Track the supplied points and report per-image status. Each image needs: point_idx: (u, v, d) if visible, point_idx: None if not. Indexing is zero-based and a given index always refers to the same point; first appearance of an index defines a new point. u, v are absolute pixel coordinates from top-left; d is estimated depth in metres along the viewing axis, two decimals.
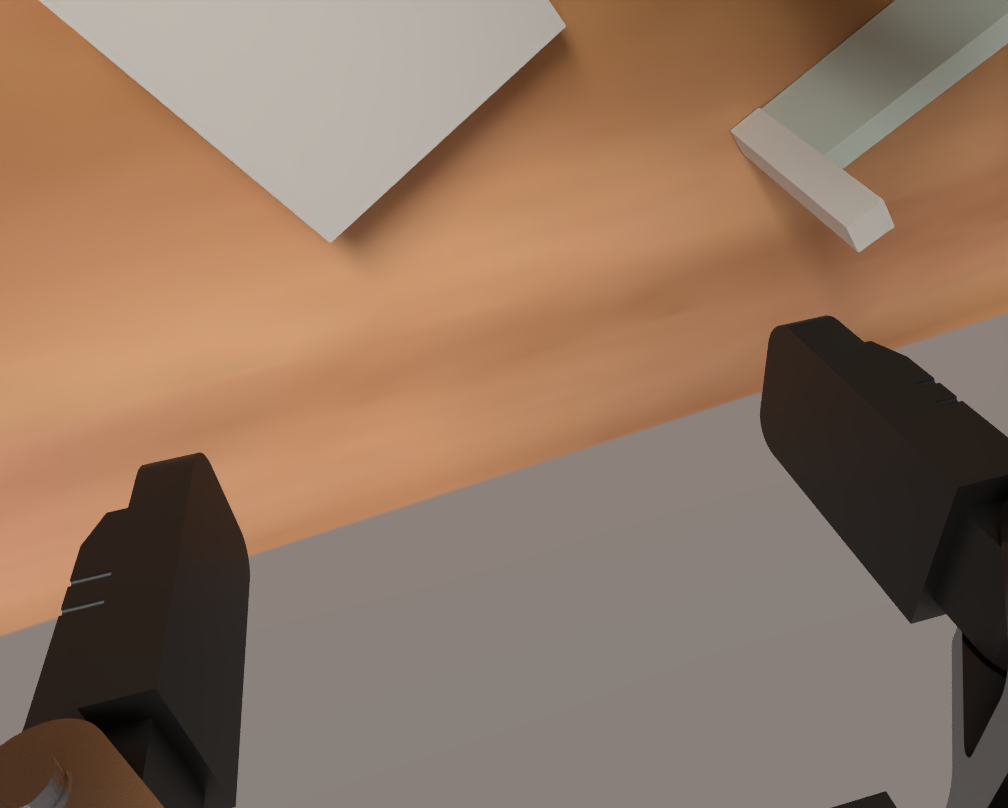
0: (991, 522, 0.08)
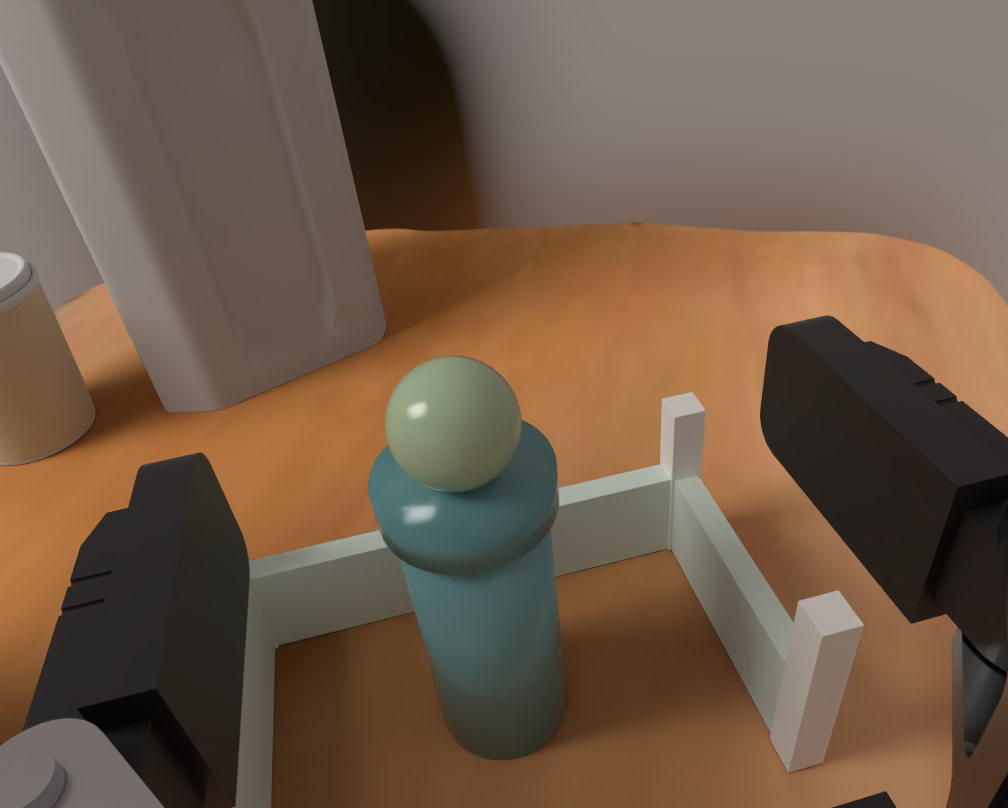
0: (991, 522, 0.08)
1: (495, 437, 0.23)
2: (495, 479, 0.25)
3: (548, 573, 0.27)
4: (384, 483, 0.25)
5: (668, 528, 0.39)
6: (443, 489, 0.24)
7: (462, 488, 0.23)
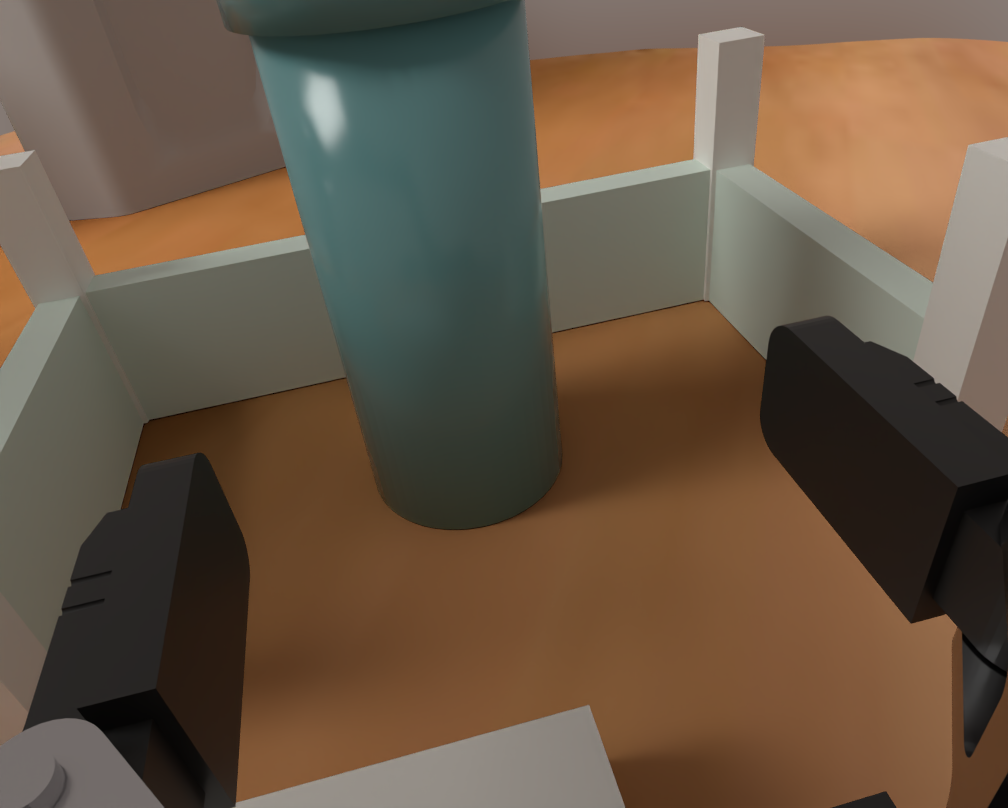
0: (991, 522, 0.08)
1: None
2: None
3: (526, 139, 0.16)
4: None
5: (705, 262, 0.28)
6: None
7: None
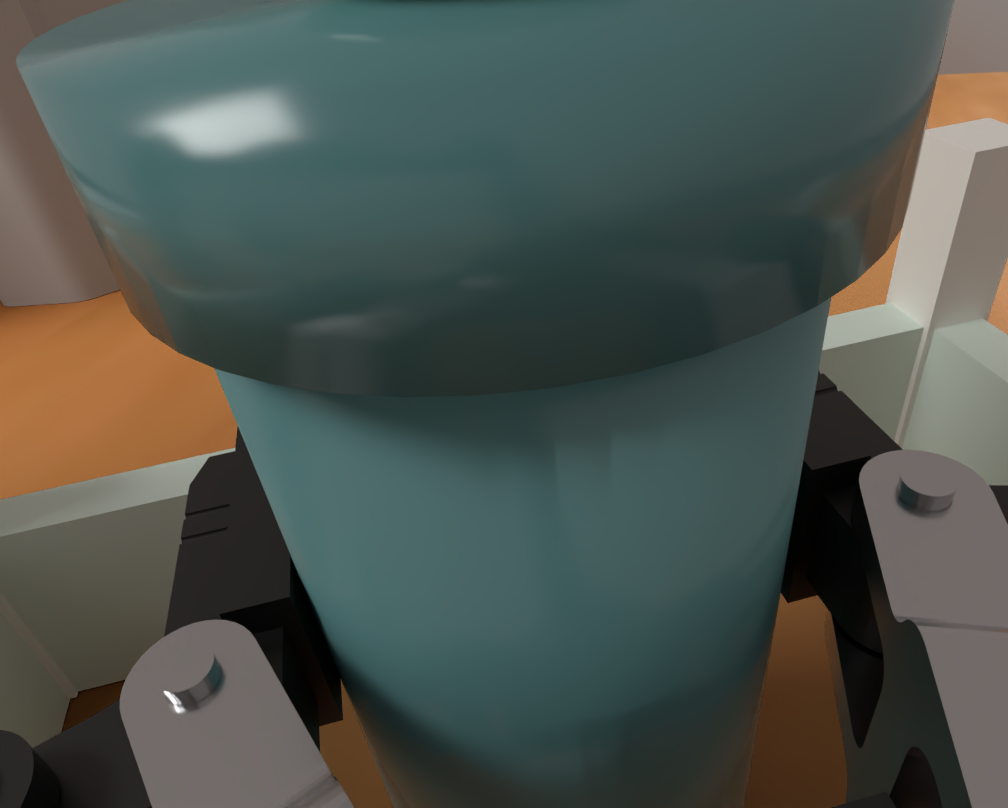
0: (845, 503, 0.08)
1: None
2: None
3: (800, 470, 0.07)
4: (121, 23, 0.06)
5: None
6: None
7: None
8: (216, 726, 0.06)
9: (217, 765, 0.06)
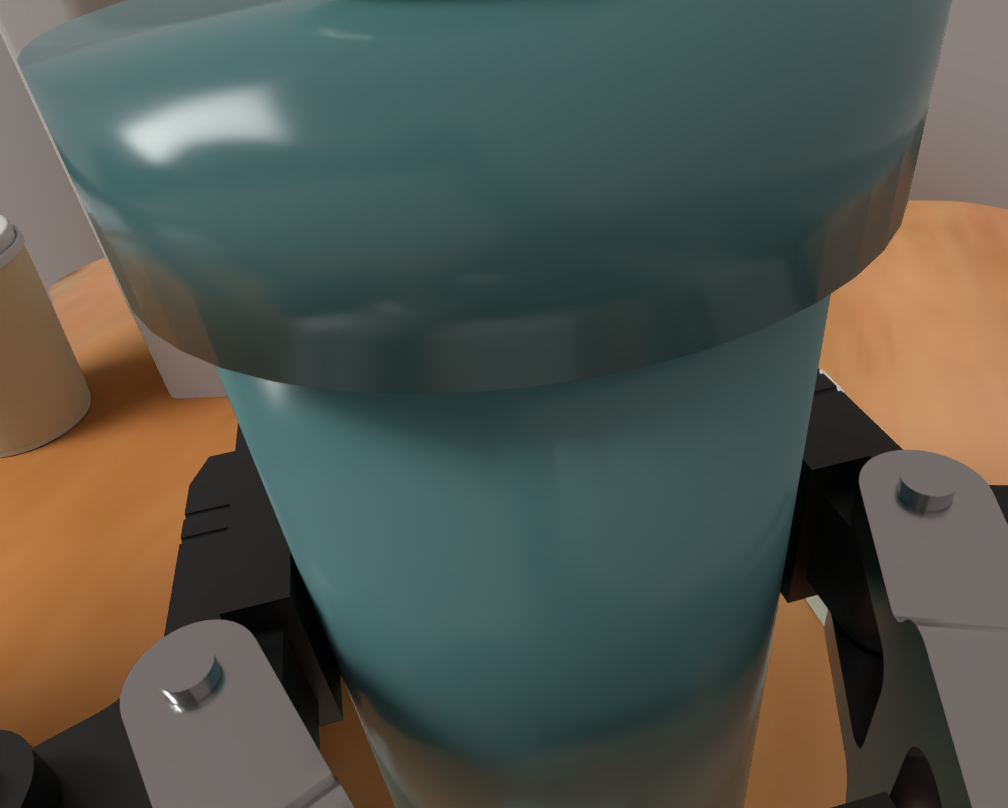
0: (845, 503, 0.08)
1: None
2: None
3: (800, 468, 0.07)
4: (122, 22, 0.06)
5: None
6: None
7: None
8: (217, 726, 0.06)
9: (218, 764, 0.06)
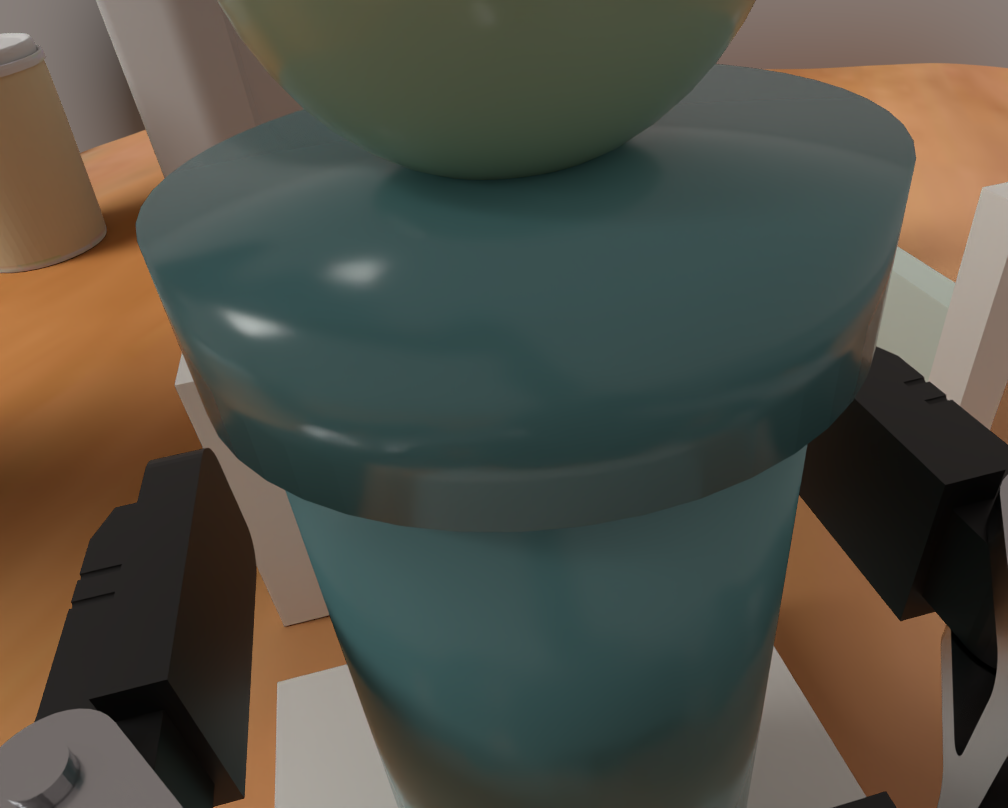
0: (978, 520, 0.08)
1: None
2: (653, 152, 0.06)
3: None
4: (211, 188, 0.07)
5: None
6: (440, 93, 0.05)
7: (537, 80, 0.05)
8: None
9: None
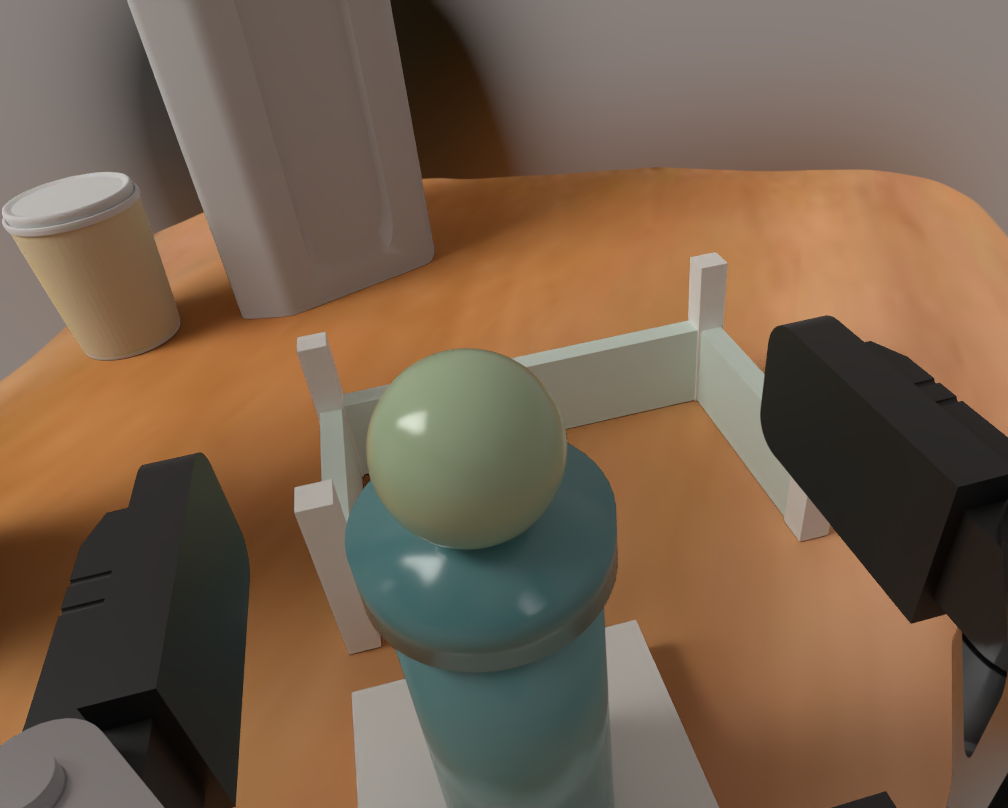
0: (991, 522, 0.08)
1: (531, 471, 0.15)
2: (528, 528, 0.17)
3: (600, 655, 0.19)
4: (368, 533, 0.18)
5: (695, 379, 0.46)
6: (452, 546, 0.16)
7: (481, 545, 0.16)
8: None
9: None
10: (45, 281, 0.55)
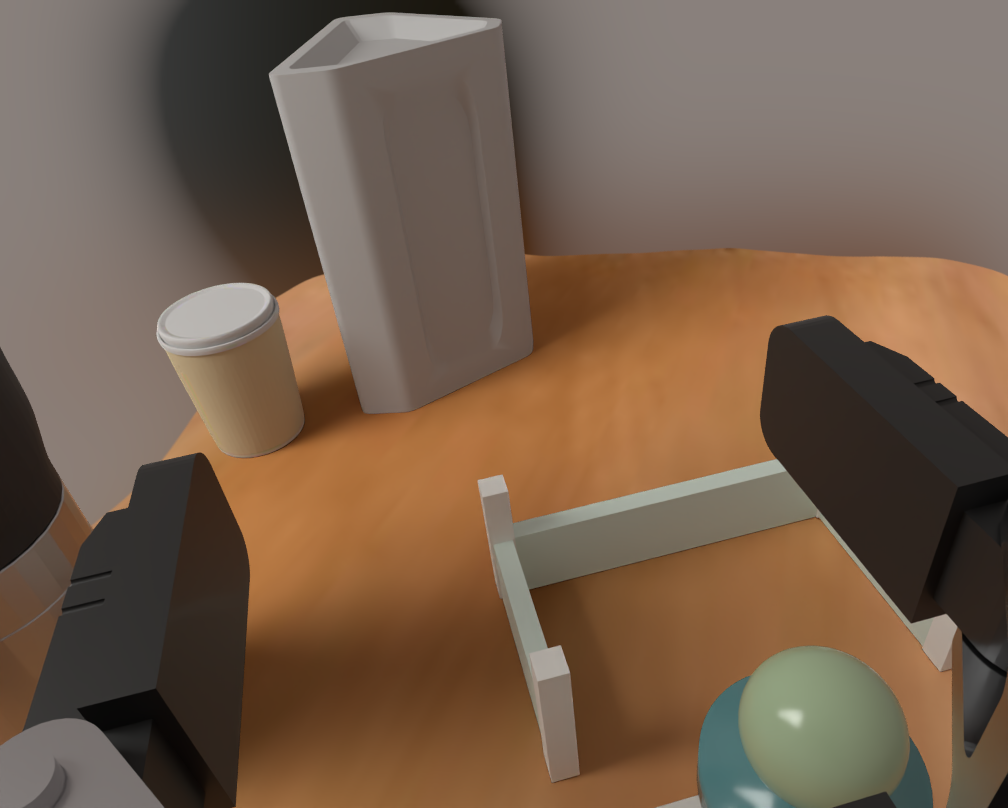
0: (991, 522, 0.08)
1: (901, 769, 0.19)
2: None
3: None
4: (724, 783, 0.22)
5: None
6: None
7: None
8: None
9: None
10: (194, 392, 0.59)
